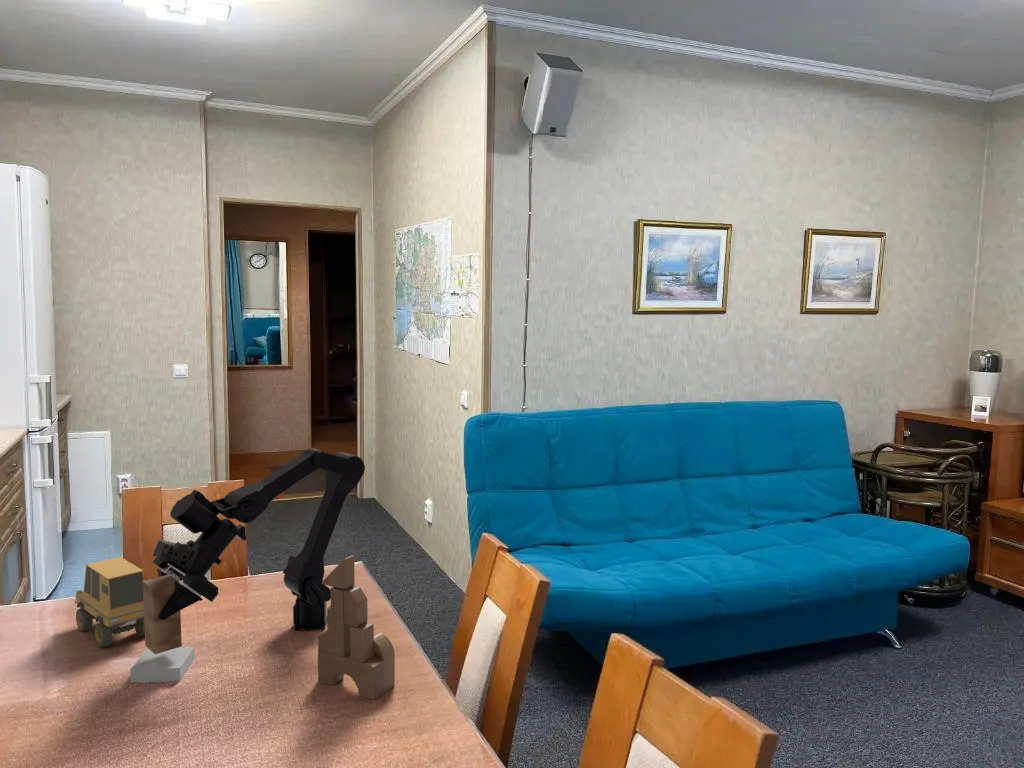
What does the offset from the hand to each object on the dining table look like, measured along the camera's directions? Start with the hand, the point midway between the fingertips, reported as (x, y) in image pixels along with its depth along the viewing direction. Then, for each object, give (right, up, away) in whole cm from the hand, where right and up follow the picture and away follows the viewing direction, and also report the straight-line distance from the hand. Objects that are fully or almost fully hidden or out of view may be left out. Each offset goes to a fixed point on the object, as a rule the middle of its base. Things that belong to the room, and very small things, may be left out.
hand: (154, 614), depth 150 cm
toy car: (-17, -10, +19) cm, 27 cm away
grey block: (+1, -12, +2) cm, 12 cm away
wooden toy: (+38, -13, -1) cm, 40 cm away
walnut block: (+1, -7, +2) cm, 7 cm away
